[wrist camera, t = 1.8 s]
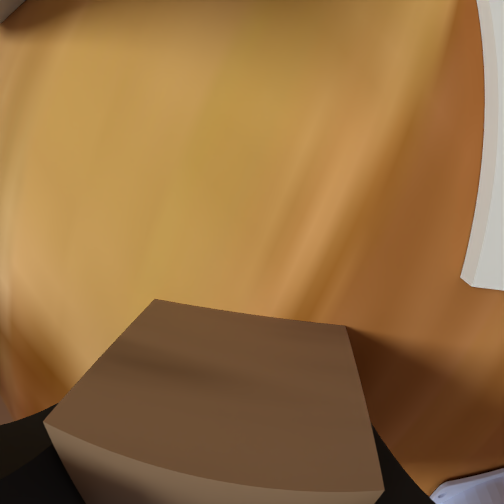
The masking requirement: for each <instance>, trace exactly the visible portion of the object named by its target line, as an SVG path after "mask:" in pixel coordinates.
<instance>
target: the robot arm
mask: <svg viewBox="0 0 504 504" xmlns="http://www.w3.org/2000/svg"><path fill="white" fill-rule="evenodd" d="M57 405H58V403H57V404H55V405H53V406H51V407H49V408H47V409H45V410H43V411H41V412H39V413H36V414H34V415H31V416H29V417H26V418H23V419H20V420H17V421H14V422H11V423H8V424H3V425H0V504H86V503H85V501H84V500H83V498H82V496H81V495H80V493H79V491H78V490H77V488H76V486H75V485H74V483H73V481H72V479H71V478H70V476H69V474H68V472H67V470H66V469H65V467H64V465H63V463H62V461H61V459H60V457H59V455H58V453H57V451H56V449H55V447H54V445H53V443H52V441H51V439H50V437H49V434H48V432H47V430H46V428H45V425H44V423H43V421H44V420H45V418H46V417H47V416H48V415H49V414H50V413H51V411H52V410H53V409H54V408H55V407H56V406H57ZM371 427H372V431H373V436H374V440H375V445H376V449H377V454H378V459H379V464H380V469H381V474H382V479H383V484H384V489H385V490H384V492H383V493H382V494H381V496H380V497H379V498H378V500H377V501H376V502H375V503H374V504H504V468H501V469H498V470H494V471H491V472H487V473H483V474H479V475H475V476H471V477H466V478H462V479H457V480H452V481H447V482H445V483H443V484H441V485H440V486H439V487H438V488H437V489H436V490H435V491H434V492H433V494H432V495H431V496H430V497H429V496H428V495H426V494H425V493H424V492H423V491H422V490H421V489H420V488H419V486H418V485H417V484H416V483H415V482H414V481H413V480H412V479H411V477H410V476H409V475H408V474H407V473H406V471H405V470H404V469H403V468H402V466H401V465H400V464H399V463H398V461H397V460H396V459H395V457H394V456H393V454H392V453H391V452H390V450H389V449H388V448H387V446H386V445H385V443H384V442H383V440H382V439H381V437H380V436H379V434H378V433H377V431H376V430H375V428H374V427H373V425H372V424H371Z"/></svg>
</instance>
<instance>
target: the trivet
mask: <svg viewBox="0 0 504 504" xmlns="http://www.w3.org/2000/svg"><path fill="white" fill-rule="evenodd" d="M477 6H478V12H479V19H480V26H481V35H482V45H483V57H484V76H485V121H484V140H483V153H482V164H481V173H480V181H479V189H478V196H477V202H476V208H475V214H474V219H473V225H472V230H471V235H470V239H469V244H468V248H467V253H466V257H465V261H464V265H463V269H462V273H461V276H460V278H462V279H463V280H464V281H465V282H467V283H468V284H469V285H470V286H472V287H479V288H488V289H496V290H504V0H477Z"/></svg>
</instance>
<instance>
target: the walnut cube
mask: <svg viewBox="0 0 504 504" xmlns="http://www.w3.org/2000/svg"><path fill="white" fill-rule="evenodd" d="M43 423H44V425H45V428H46V430H47V432H48V434H49V437H50V439H51V441H52V443H53V445H54V447H55V449H56V451H57V453H58V455H59V457H60V459H61V461H62V463H63V465H64V467H65V469H66V470H67V472H68V474H69V476H70V478H71V479H72V481H73V483H74V485H75V486H76V488H77V490H78V491H79V493H80V495H81V496H82V498H83V500H84V501H85V503H86V504H374V503H375V502H376V501H377V500H378V498H379V497H380V496H381V494H382V493H383V492H384V490H385V489H384V484H383V479H382V474H381V469H380V464H379V459H378V454H377V449H376V445H375V440H374V436H373V431H372V427H371V422H370V418H369V414H368V410H367V405H366V401H365V397H364V393H363V389H362V385H361V381H360V378H359V374H358V370H357V366H356V362H355V359H354V355H353V351H352V348H351V344H350V341H349V337H348V333H347V330H346V326H343V325H333V324H324V323H314V322H306V321H297V320H289V319H281V318H273V317H266V316H258V315H251V314H244V313H237V312H230V311H224V310H217V309H211V308H205V307H199V306H192V305H187V304H181V303H175V302H169V301H164V300H158V299H154V300H153V301H152V302H151V303H150V305H149V306H148V307H147V308H146V309H145V310H144V311H143V312H142V313H141V314H140V315H139V316H138V317H137V318H136V319H135V320H134V321H133V322H132V323H131V325H130V326H129V327H128V328H127V329H126V330H125V331H124V332H123V333H122V334H121V335H120V336H119V337H118V338H117V339H116V341H115V342H114V343H113V344H112V345H111V346H110V347H109V348H108V349H107V350H106V351H105V352H104V354H103V355H102V356H101V357H100V358H99V359H98V360H97V361H96V362H95V363H94V364H93V366H92V367H91V368H90V369H89V370H88V371H87V372H86V373H85V374H84V375H83V377H82V378H81V379H80V380H79V381H78V382H77V383H76V384H75V385H74V387H73V388H72V389H71V390H70V391H69V392H68V393H67V394H66V396H65V397H64V398H63V399H62V400H61V401H60V402H59V403H58V405H57V406H56V407H55V408H54V409H53V410H52V411H51V413H50V414H49V415H48V416H47V417H46V418H45V420H44V421H43Z"/></svg>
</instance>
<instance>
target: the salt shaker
mask: <svg viewBox="0 0 504 504" xmlns="http://www.w3.org/2000/svg"><path fill="white" fill-rule="evenodd" d="M24 1H26V0H0V23H2V22H3V21H4V20H5V19H6V18H7V17H8V16H9V15H10V14H11V13H12V12H13V11H14V10H16V9H17V8H18V7H19V6H20V5H21V4H22V3H23V2H24Z"/></svg>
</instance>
